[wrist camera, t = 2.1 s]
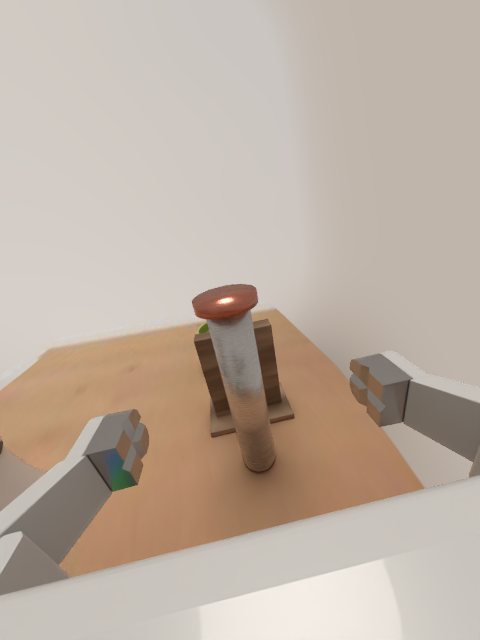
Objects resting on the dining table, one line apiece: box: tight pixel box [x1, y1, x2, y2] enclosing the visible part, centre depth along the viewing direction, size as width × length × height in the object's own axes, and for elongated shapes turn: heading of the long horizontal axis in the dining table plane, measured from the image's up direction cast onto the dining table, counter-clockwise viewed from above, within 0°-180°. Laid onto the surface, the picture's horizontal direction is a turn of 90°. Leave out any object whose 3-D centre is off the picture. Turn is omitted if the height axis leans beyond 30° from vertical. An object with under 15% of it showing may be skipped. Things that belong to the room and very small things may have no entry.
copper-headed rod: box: [192, 284, 275, 471], centre depth 28 cm, size 15×6×21 cm, turn 7°
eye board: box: [194, 319, 294, 437], centre depth 33 cm, size 7×12×14 cm, turn 97°
